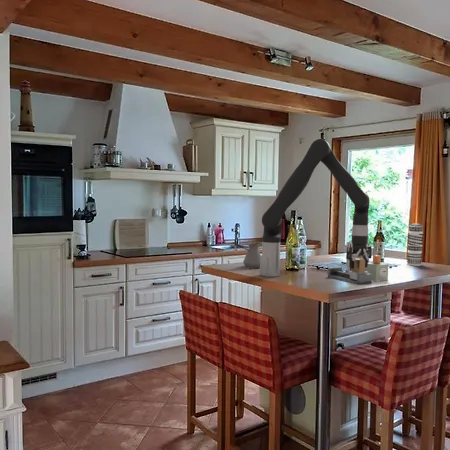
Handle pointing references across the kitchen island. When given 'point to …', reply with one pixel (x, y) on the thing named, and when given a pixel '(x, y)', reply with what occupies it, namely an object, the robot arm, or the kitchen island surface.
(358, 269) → the carriage
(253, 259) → the coffee pot
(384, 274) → the gauge cabinet
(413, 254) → the decorative candle
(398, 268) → the kitchen island surface
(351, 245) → the candy bar box
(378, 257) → the button
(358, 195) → the robot arm
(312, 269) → the kitchen island surface
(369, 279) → the rail
